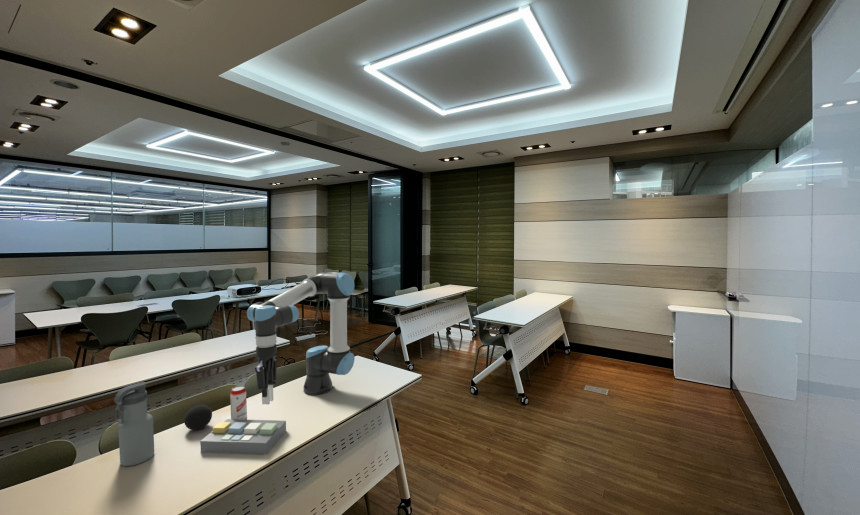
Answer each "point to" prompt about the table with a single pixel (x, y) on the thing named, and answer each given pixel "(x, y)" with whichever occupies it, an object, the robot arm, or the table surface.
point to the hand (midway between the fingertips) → (267, 402)
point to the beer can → (238, 403)
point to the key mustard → (221, 427)
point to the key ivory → (253, 428)
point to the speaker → (198, 417)
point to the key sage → (268, 429)
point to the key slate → (237, 428)
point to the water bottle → (134, 425)
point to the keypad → (243, 439)
